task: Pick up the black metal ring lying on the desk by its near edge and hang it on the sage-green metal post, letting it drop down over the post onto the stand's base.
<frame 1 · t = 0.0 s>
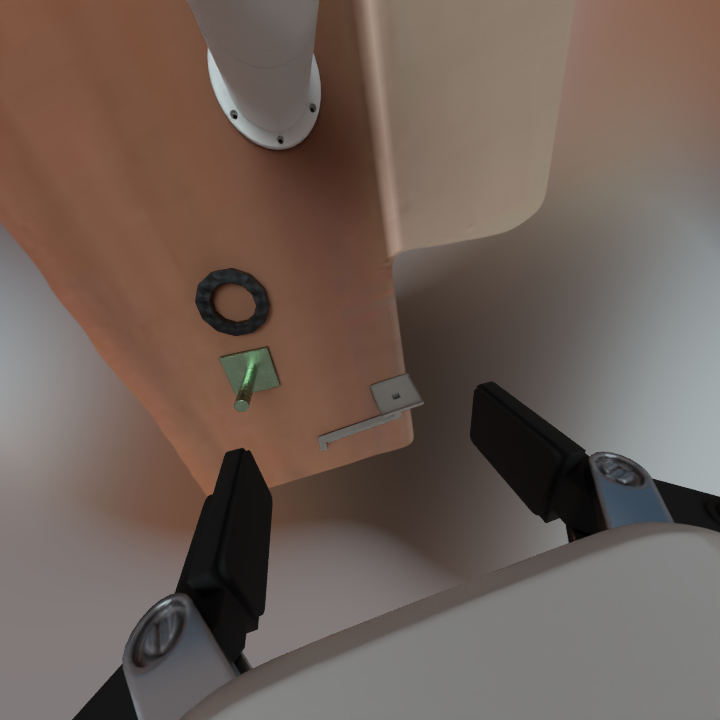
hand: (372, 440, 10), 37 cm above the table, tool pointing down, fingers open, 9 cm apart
toilet paper hanger: (362, 408, 57), on the table
post: (251, 370, 47), on the table
black ring: (235, 301, 41), on the table
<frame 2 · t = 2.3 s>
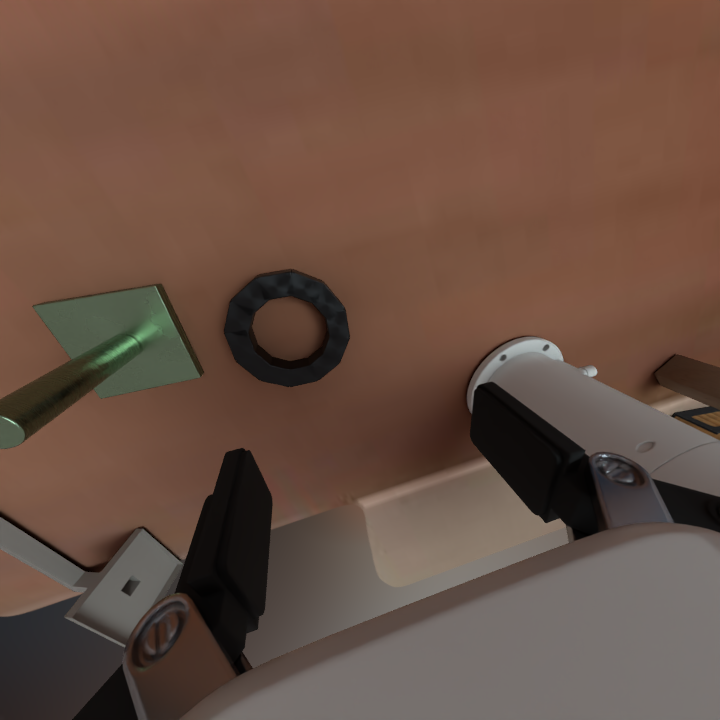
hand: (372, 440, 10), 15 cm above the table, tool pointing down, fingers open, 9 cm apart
toilet paper hanger: (79, 527, 28), on the table
post: (133, 341, 21), on the table
ammunition clip: (692, 412, 45), on the table
black ring: (290, 328, 23), on the table
wooden block: (665, 369, 38), on the table
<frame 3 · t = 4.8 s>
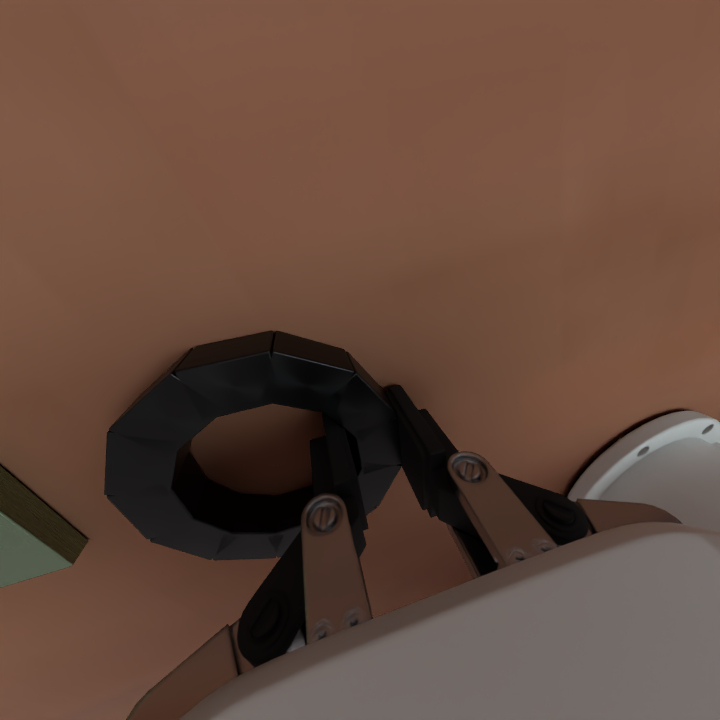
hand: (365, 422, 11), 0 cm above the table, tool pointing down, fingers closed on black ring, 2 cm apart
black ring: (277, 443, 11), on the table, touching gripper
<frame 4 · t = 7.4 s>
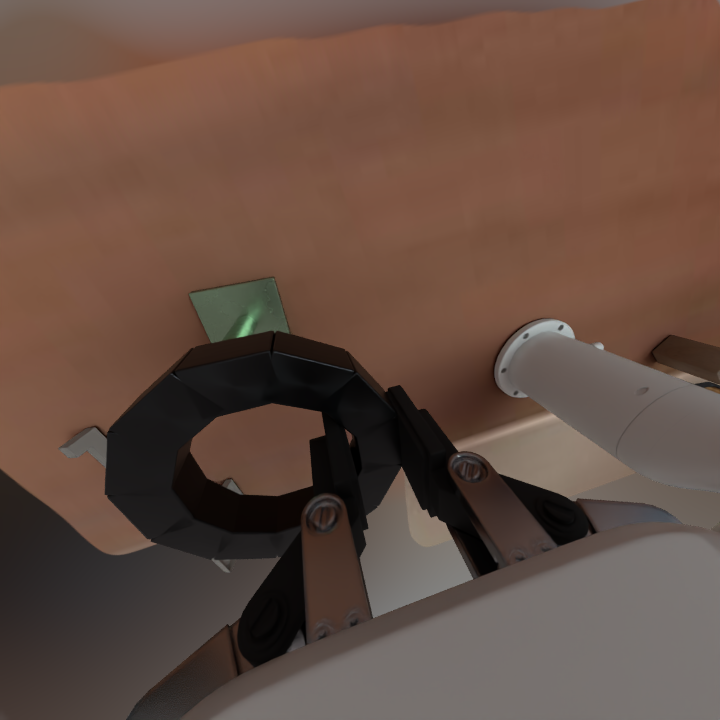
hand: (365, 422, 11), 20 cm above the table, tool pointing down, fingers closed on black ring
toilet paper hanger: (183, 477, 35), on the table
post: (247, 321, 27), on the table
ammunition clip: (686, 388, 52), on the table
black ring: (277, 443, 11), point 19 cm above the table, touching gripper
wooden block: (662, 348, 45), on the table
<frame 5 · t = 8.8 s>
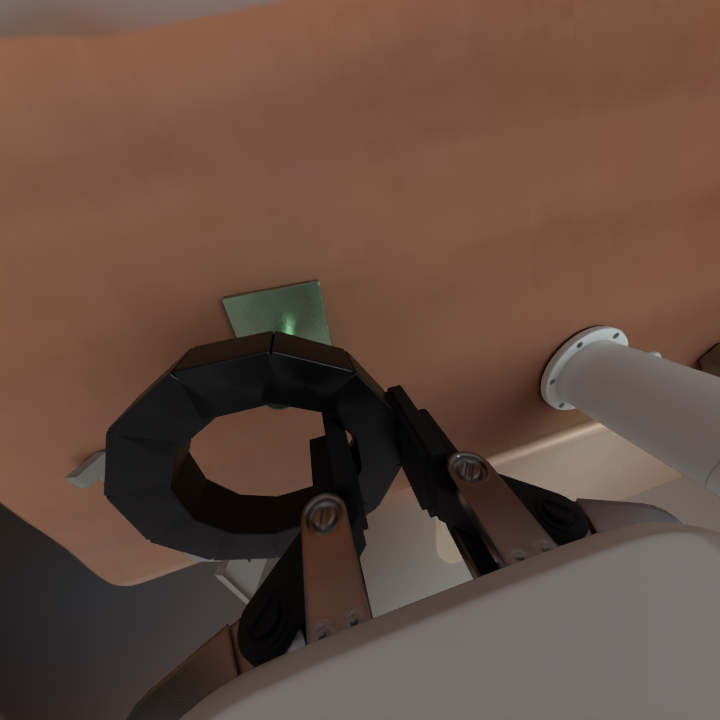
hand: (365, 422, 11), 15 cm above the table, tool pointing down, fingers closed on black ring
toilet paper hanger: (202, 501, 31), on the table
post: (284, 330, 24), on the table
black ring: (276, 443, 11), point 15 cm above the table, touching gripper
wooden block: (708, 356, 42), on the table
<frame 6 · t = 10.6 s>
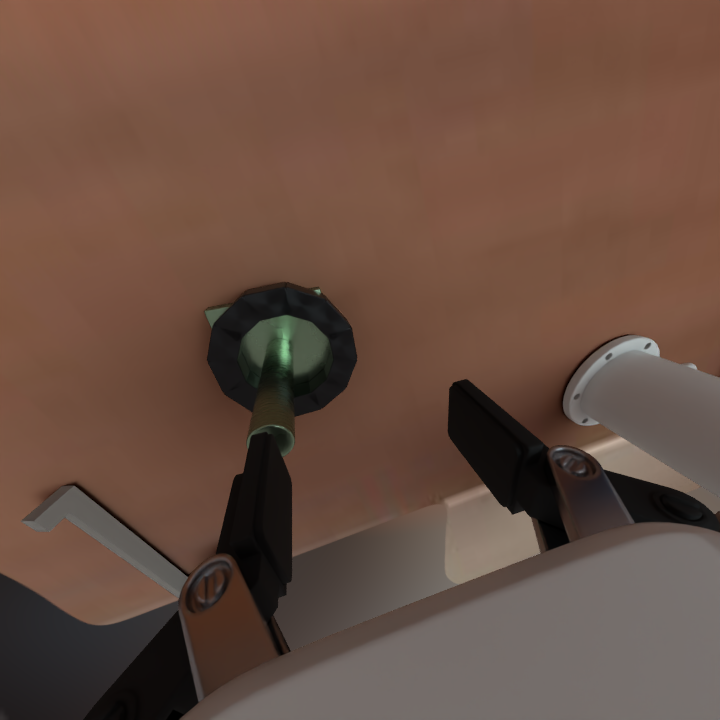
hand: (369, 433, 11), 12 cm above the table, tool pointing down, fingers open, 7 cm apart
toilet paper hanger: (189, 533, 28), on the table
post: (280, 345, 21), on the table
black ring: (287, 350, 20), point 1 cm above the table, touching post
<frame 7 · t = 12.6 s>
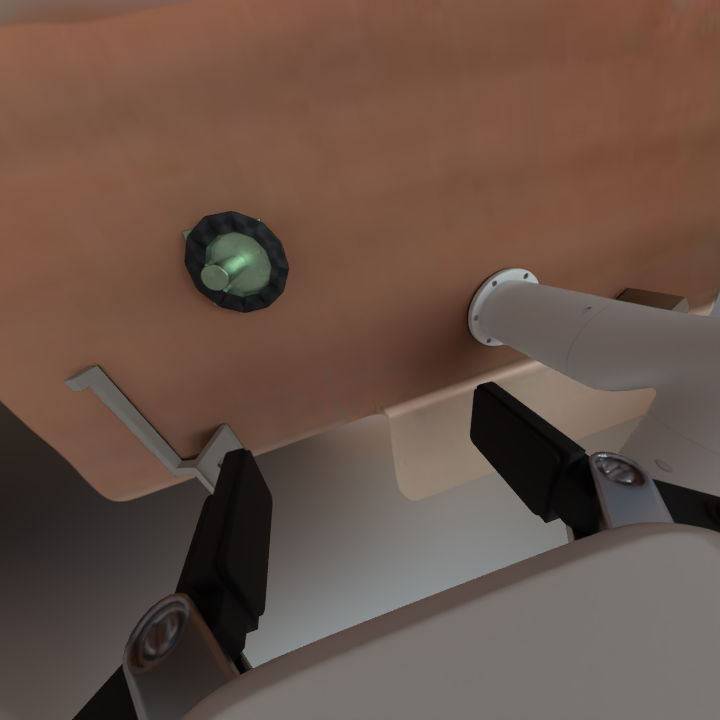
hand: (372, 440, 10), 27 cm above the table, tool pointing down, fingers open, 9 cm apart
toilet paper hanger: (181, 421, 37), on the table
post: (237, 263, 30), on the table
black ring: (241, 264, 29), point 1 cm above the table, touching post
wooden block: (621, 301, 49), on the table
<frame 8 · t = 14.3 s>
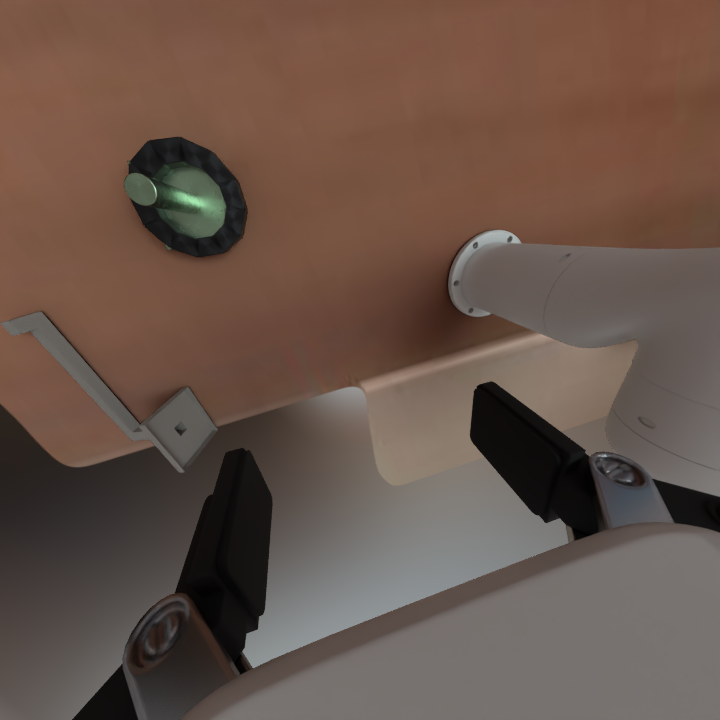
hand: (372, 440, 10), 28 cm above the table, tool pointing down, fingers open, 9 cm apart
toilet paper hanger: (138, 381, 35), on the table
post: (192, 204, 28), on the table
black ring: (195, 203, 27), point 1 cm above the table, touching post
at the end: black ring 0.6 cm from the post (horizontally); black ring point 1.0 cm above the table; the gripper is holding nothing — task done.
